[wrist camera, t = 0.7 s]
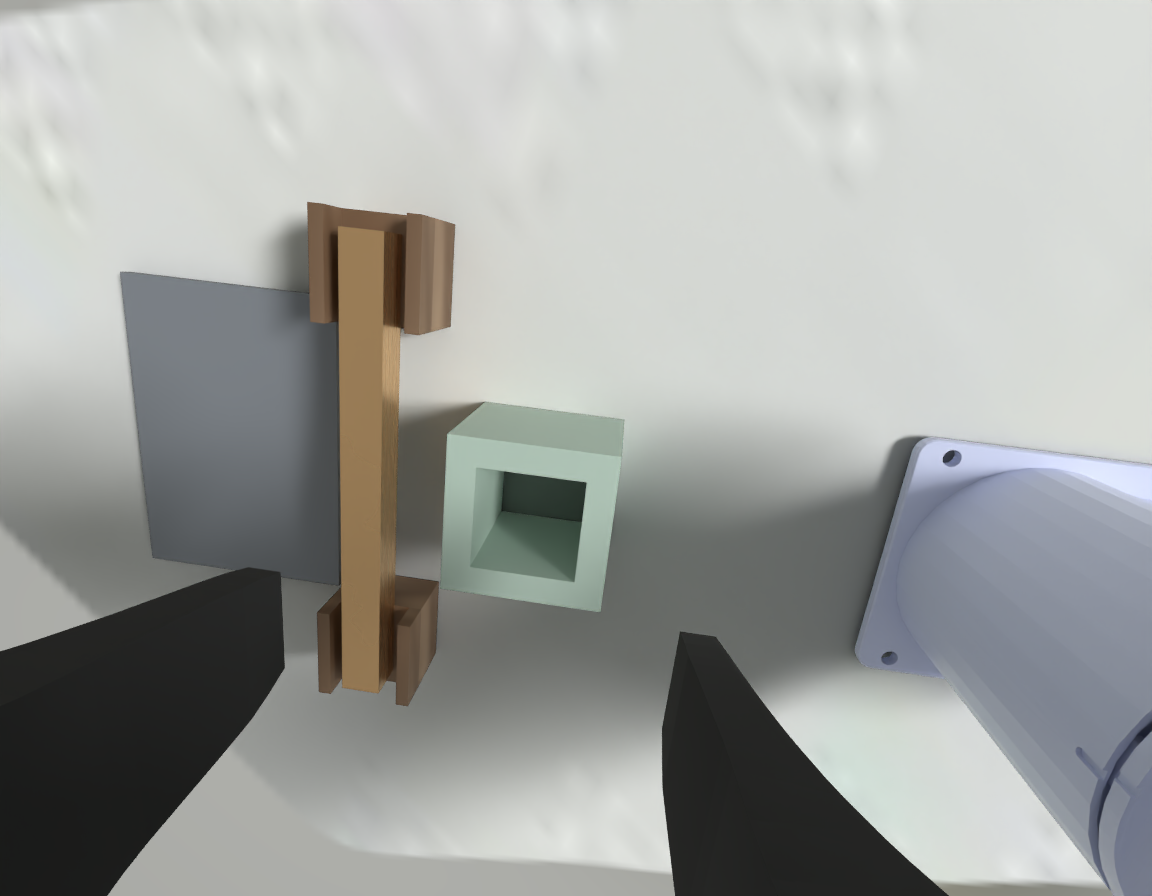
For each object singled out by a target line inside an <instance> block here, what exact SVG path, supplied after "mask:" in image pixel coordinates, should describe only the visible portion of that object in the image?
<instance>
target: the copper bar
mask: <svg viewBox="0 0 1152 896" xmlns="http://www.w3.org/2000/svg"><path fill="white" fill-rule="evenodd" d="M401 271H402V235H401V234H396V233H391V232H385V231H377V230H368V229H359V228H350V227H342V226H338V285H339V389H340V494H341V598H342V688H347V689H354V690H360V691H366V692H372V693H379V692H380V690H381V689H382V687H383V685H384V684H385V682H386V680H387V679H388V677H389V675H390V674H391V672H392V671H393V657H394V609H395V560H396V512H397V464H398V416H399V368H400V319H401Z"/></svg>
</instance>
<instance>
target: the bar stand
mask: <svg viewBox="0 0 1152 896" xmlns="http://www.w3.org/2000/svg"><path fill="white" fill-rule="evenodd" d="M307 210H308V252H309V294H310V322H316V323H324V324H325V323H332V322H339V285H338V226H342V227H350V228H359V229H368V230H377V231H385V232H391V233H396V234H401V235H402V271H401V319H400V328H404V333H405V334H414V335H421V334H425V333H429V332H432V331H436V330H440V329H444V328H447V327H450V325H451V303H452V281H453V259H454V237H455V224H452V223H448V222H445V221H442V220H438V219H435V218H432V217H428V216H425V215H421V214H412V213H407V215H399V214H389V213H380V212H371V211H362V210H353V209H344V208H339V207H334V206H330V205H326V204H321V203H312V202H307ZM438 589H439V582H437V581H430V580H423V579H416V578H410V577H403V576H396V575H395V609H394V657H393V671H392V672H391V674H390V675H389V677H388V679H387V680H386V681H392V682H396V704H397V705H403V706H408V705H409V703H410V701H411V699H412V697H413V695H414V693H415V691H416V690H417V688H418V686H419V684H420V682H421V680H422V678H423V676H424V674H425V672H426V671H427V669H428V667H429V665H430V663H431V661H432V659H433V657H434V655H435V653H436V633H437V611H438ZM317 632H318V674H319V692H322V693H328V694H331V693H332V691H333V690H334V689H335V687H336V686H337V684H338V683H339V682H340V680H341V679H342V598H341V588H340V589H339V590H338V591H337V592H336V593H335V594H334V595H333V596H332V597H331V598H330V599H329V601H328V602H327V603H326V604H325V605H324V606H323V607H322V608H321V609H320V610H319V611H318V612H317Z"/></svg>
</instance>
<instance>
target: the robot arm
mask: <svg viewBox="0 0 1152 896" xmlns="http://www.w3.org/2000/svg"><path fill="white" fill-rule="evenodd" d="M950 450H954V457H953V459H952V460H951V461H949V462H948V463H943V456H944V455H945V453H947V452H948V451H950ZM891 651H892V652H893V653H892V654H891V655H890V656H888V657H885V658H882V655H883V654H884V653H886V652H891ZM855 654H856V656H857V658H858V660H859V661H860V663H861V664H863V665H864V666H866V667H869V668H875V669H881V670H888V671H895V672H901V673H908V674H915V675H921V676H928V677H935V678H941V679H946V680H947V682H948V683H949V684H950V686H951V687H952V688H953V689H954V691H955V692H956V693H957V695H958V696H959V697H960V698H961V700H962V701H963V702H964V704H965V705H966V706H967V707H968V709H969V710H970V711H971V713H972V714H973V715H974V716H975V718H976V719H977V720H978V722H979V723H980V724H981V725H982V727H983V728H984V729H985V731H986V732H987V733H988V734H989V736H990V737H991V738H992V740H993V741H994V742H995V743H996V745H997V746H998V747H999V749H1000V750H1001V751H1002V752H1003V754H1004V755H1005V756H1006V757H1007V759H1008V760H1009V761H1010V763H1011V764H1012V765H1013V766H1014V768H1015V769H1016V770H1017V772H1018V773H1019V774H1020V775H1021V777H1022V778H1023V779H1024V781H1025V782H1026V783H1027V784H1028V786H1029V787H1030V788H1031V790H1032V791H1033V792H1034V793H1035V795H1036V796H1037V797H1038V799H1039V800H1040V801H1041V802H1042V804H1043V805H1044V806H1045V808H1046V809H1047V810H1048V811H1049V813H1050V814H1051V815H1052V817H1053V818H1054V819H1055V820H1056V822H1057V823H1058V824H1059V826H1060V827H1061V828H1062V829H1063V831H1064V832H1065V833H1066V835H1067V836H1068V837H1069V838H1070V840H1071V841H1072V842H1073V843H1074V845H1075V846H1076V847H1077V849H1078V850H1079V851H1080V852H1081V854H1082V855H1083V856H1084V858H1085V859H1086V860H1087V861H1088V863H1089V864H1090V865H1091V867H1092V868H1093V869H1094V870H1095V872H1096V873H1097V874H1098V876H1099V877H1100V878H1101V879H1102V881H1103V882H1104V883H1105V885H1106V886H1107V887H1108V888H1109V889H1110V890H1111V892H1112V894H1113V896H1152V465H1150V464H1142V463H1134V462H1126V461H1119V460H1111V459H1103V458H1095V457H1087V456H1079V455H1071V454H1063V453H1055V452H1047V451H1040V450H1032V449H1024V448H1016V447H1008V446H1000V445H992V444H984V443H976V442H968V441H960V440H953V439H945V438H937V437H927V438H925V439H922V440H920V441H919V442H918V443H917V444H916V445H915V446H914V448H913V450H912V453H911V457H910V460H909V464H908V467H907V470H906V474H905V477H904V481H903V484H902V488H901V491H900V494H899V498H898V501H897V505H896V508H895V512H894V515H893V519H892V522H891V525H890V529H889V532H888V536H887V539H886V543H885V546H884V549H883V553H882V556H881V560H880V563H879V567H878V570H877V573H876V577H875V580H874V584H873V587H872V591H871V594H870V598H869V601H868V604H867V608H866V611H865V615H864V618H863V622H862V625H861V628H860V632H859V635H858V639H857V642H856V646H855ZM284 668H285V663H284V640H283V617H282V595H281V572H278V571H271V570H264V569H257V568H251V567H247V568H243V569H239V570H236V571H232V572H229V573H226V574H223V575H220V576H217V577H214V578H211V579H208V580H205V581H202V582H200V583H197V584H194V585H191V586H188V587H186V588H183V589H180V590H177V591H175V592H172V593H169V594H167V595H164V596H161V597H158V598H156V599H153V600H150V601H148V602H145V603H142V604H139V605H137V606H134V607H131V608H128V609H126V610H123V611H120V612H118V613H115V614H112V615H109V616H106V617H103V618H100V619H97V620H94V621H91V622H88V623H86V624H83V625H80V626H77V627H74V628H71V629H68V630H65V631H62V632H59V633H56V634H53V635H50V636H47V637H45V638H41V639H38V640H35V641H32V642H29V643H26V644H23V645H20V646H17V647H13V648H10V649H7V650H4V651H0V896H107V895H108V894H109V893H110V891H111V890H112V888H113V887H114V885H115V884H116V883H117V881H118V880H119V879H120V877H121V876H122V875H123V873H124V872H125V870H126V869H127V868H128V867H129V866H130V864H131V863H132V862H133V860H134V859H135V858H136V857H137V856H138V854H139V853H140V851H141V850H142V849H143V848H144V847H145V845H146V844H147V843H148V842H149V840H150V839H151V838H152V837H153V836H154V835H155V833H156V832H157V831H158V830H159V829H160V827H161V826H162V825H163V824H164V823H165V822H166V820H167V819H168V818H169V817H170V816H171V815H172V813H173V812H174V811H175V810H176V809H177V807H178V806H179V805H180V804H181V803H182V801H183V800H184V799H185V798H186V797H187V796H188V795H189V793H190V792H191V791H192V790H193V788H194V787H195V786H196V785H197V784H198V783H199V782H200V780H201V779H202V778H203V777H204V775H206V773H207V772H208V771H209V770H210V769H211V767H212V766H213V765H214V764H215V763H216V761H217V760H218V759H219V758H220V757H221V756H222V754H223V753H224V752H225V751H226V750H227V748H228V747H229V746H230V745H231V744H232V742H233V741H234V740H235V739H236V738H237V736H238V735H239V734H240V733H241V732H242V730H243V729H244V728H245V727H246V725H247V724H248V723H249V722H250V721H251V719H252V718H253V716H254V715H255V713H256V712H257V710H258V709H259V707H260V706H261V704H262V703H263V702H264V700H265V699H266V697H267V696H268V694H269V692H270V691H271V689H272V688H273V686H274V684H275V683H276V681H277V680H278V678H279V676H280V675H281V673H282V672H283V670H284ZM662 782H663V796H664V805H665V814H666V822H667V831H668V840H669V848H670V856H671V865H672V873H673V881H674V890H675V896H948V895H947V894H946V893H945V892H944V891H943V890H942V889H940V888H939V887H938V886H937V885H936V884H935V883H934V882H932V881H931V880H930V879H929V878H928V877H927V876H926V875H924V874H923V873H922V872H921V871H920V870H919V869H918V868H917V867H915V866H914V865H913V864H912V863H911V862H910V861H909V860H908V859H906V858H905V857H904V856H903V855H902V854H901V853H900V852H899V851H898V850H897V849H896V848H895V847H894V846H892V845H891V844H890V843H889V842H888V841H887V840H886V839H885V838H884V837H883V836H882V835H881V834H880V833H879V832H878V831H877V830H876V829H875V828H874V827H873V826H872V825H871V824H870V823H869V822H868V821H867V820H866V819H865V818H864V817H863V816H862V815H861V814H860V813H859V812H858V811H857V810H856V809H855V808H854V807H853V806H852V805H851V804H850V803H849V802H848V801H847V800H846V799H845V798H844V797H843V796H842V795H841V794H840V793H839V792H838V791H837V790H836V789H835V788H834V787H833V785H832V784H831V783H830V782H829V781H828V780H827V779H826V778H825V777H824V776H823V775H822V773H821V772H820V771H819V770H818V769H817V768H816V767H815V765H814V764H813V763H812V762H811V761H810V760H809V759H808V757H807V756H806V755H805V754H804V753H803V752H802V751H801V749H800V748H799V747H798V746H797V745H796V744H795V742H794V741H793V740H792V739H791V738H790V736H789V735H788V734H787V733H786V731H785V730H784V729H783V728H782V726H781V725H780V724H779V723H778V721H777V720H776V719H775V717H774V716H773V715H772V714H771V712H770V711H769V710H768V708H767V707H766V706H765V705H764V703H763V702H762V701H761V699H760V698H759V697H758V695H757V694H756V692H755V691H754V690H753V688H752V687H751V686H750V684H749V683H748V681H747V680H746V679H745V677H744V676H743V674H742V673H741V672H740V670H739V669H738V667H737V666H736V665H735V663H734V662H733V660H732V659H731V658H730V656H729V655H728V653H727V652H726V650H725V649H724V648H723V646H722V645H721V644H720V642H719V641H718V639H717V638H716V637H713V636H706V635H699V634H693V633H686V632H680V635H679V641H678V646H677V651H676V657H675V662H674V667H673V673H672V678H671V683H670V689H669V694H668V700H667V705H666V710H665V716H664V721H663V726H662Z"/></svg>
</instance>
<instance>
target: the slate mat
mask: <svg viewBox="0 0 1152 896" xmlns="http://www.w3.org/2000/svg"><path fill="white" fill-rule="evenodd" d="M120 276H121V285H122V294H123V303H124V311H125V320H126V329H127V338H128V346H129V355H130V364H131V373H132V381H133V390H134V399H135V407H136V416H137V425H138V434H139V442H140V451H141V460H142V469H143V477H144V486H145V495H146V504H147V512H148V521H149V530H150V539H151V547H152V556H153V558H157V559H164V560H171V561H177V562H184V563H191V564H197V565H204V566H211V567H218V568H224V569H231V570H239V569H243V568H247V567H251V568H257V569H264V570H271V571H278V572H281V577H284V578H291V579H298V580H304V581H311V582H318V583H324V584H331V585H338V586H339V585H340V584H341V494H340V389H339V322H332V323H325V324H324V323H316V322H310V294H309V293H302V292H294V291H286V290H277V289H269V288H261V287H252V286H244V285H235V284H227V283H219V282H210V281H202V280H194V279H185V278H177V277H169V276H160V275H152V274H144V273H135V272H120Z"/></svg>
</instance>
